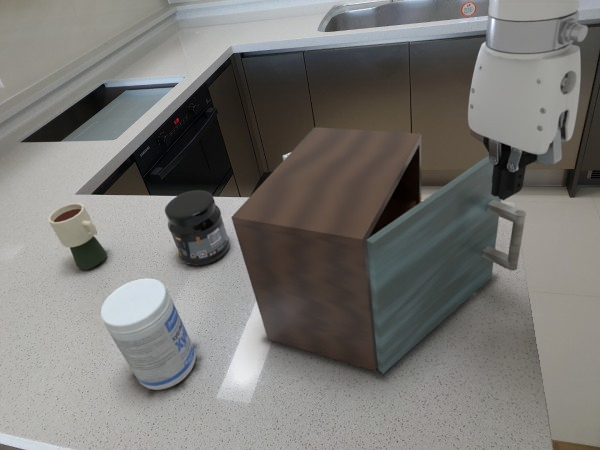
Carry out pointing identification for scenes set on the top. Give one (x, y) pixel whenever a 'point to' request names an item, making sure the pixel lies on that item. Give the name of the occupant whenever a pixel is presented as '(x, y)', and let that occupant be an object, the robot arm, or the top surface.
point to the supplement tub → (149, 333)
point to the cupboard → (326, 237)
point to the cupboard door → (436, 260)
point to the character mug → (77, 234)
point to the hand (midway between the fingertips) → (505, 193)
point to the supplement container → (197, 227)
